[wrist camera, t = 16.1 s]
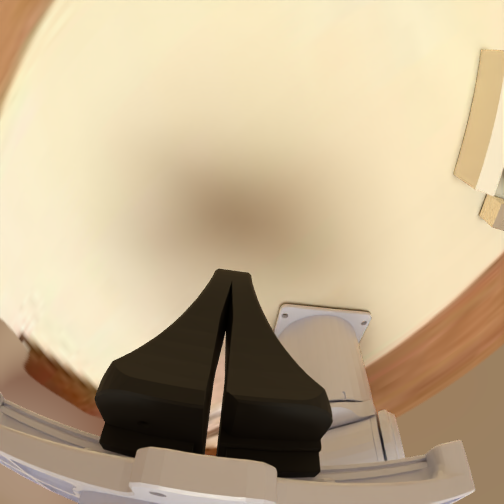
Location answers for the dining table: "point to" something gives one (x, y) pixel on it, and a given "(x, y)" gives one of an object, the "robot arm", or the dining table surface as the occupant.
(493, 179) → the housing
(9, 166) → the dining table surface
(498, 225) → the cream wooden plank
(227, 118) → the dining table surface
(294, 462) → the robot arm
